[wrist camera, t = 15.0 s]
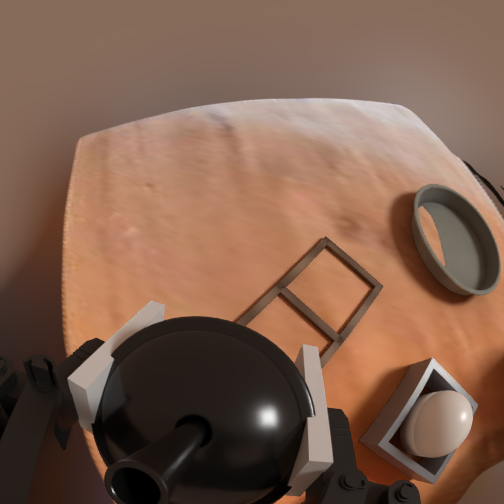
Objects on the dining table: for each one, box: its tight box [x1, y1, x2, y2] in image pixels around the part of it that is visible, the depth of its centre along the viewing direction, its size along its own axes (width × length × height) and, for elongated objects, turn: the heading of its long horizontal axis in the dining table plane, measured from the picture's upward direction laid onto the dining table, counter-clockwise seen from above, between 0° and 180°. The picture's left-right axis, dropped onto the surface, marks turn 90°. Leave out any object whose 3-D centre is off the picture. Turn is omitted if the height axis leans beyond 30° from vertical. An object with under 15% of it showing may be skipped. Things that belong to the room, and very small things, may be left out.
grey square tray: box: [359, 358, 478, 484], centre depth 24 cm, size 13×13×5 cm
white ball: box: [400, 390, 473, 458], centre depth 22 cm, size 9×9×9 cm
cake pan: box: [412, 184, 501, 295], centre depth 41 cm, size 25×25×4 cm
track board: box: [236, 237, 383, 369], centre depth 32 cm, size 32×12×1 cm, turn 135°
